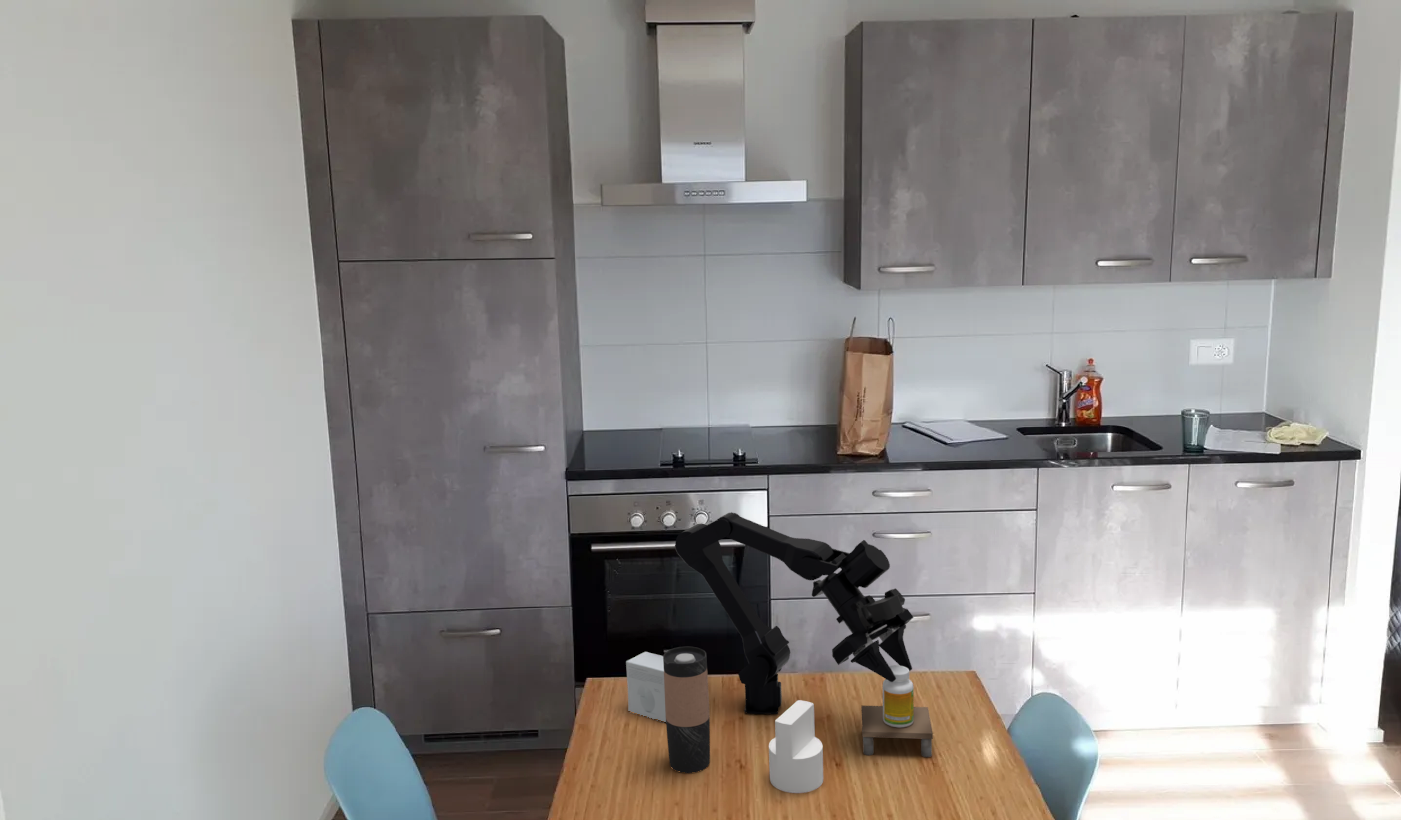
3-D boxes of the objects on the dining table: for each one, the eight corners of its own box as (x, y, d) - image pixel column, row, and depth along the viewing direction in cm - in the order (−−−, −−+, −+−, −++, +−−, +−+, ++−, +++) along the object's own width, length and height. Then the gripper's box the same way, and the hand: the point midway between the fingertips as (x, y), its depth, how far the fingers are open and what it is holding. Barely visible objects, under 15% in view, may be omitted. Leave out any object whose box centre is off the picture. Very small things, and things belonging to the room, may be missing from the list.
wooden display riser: (862, 755, 177) (862, 731, 176) (861, 728, 186) (861, 705, 186) (932, 757, 175) (932, 733, 174) (928, 730, 185) (928, 707, 184)
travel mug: (717, 754, 179) (712, 648, 176) (703, 776, 172) (698, 666, 168) (676, 749, 181) (671, 644, 178) (661, 770, 174) (655, 661, 171)
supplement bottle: (917, 727, 177) (917, 674, 175) (887, 729, 176) (887, 677, 175) (908, 713, 182) (908, 662, 180) (879, 715, 182) (878, 664, 180)
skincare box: (690, 711, 196) (687, 660, 194) (670, 725, 191) (667, 672, 189) (647, 699, 202) (645, 649, 200) (627, 712, 197) (624, 661, 195)
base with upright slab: (809, 798, 164) (807, 729, 162) (760, 784, 169) (758, 717, 167) (832, 772, 171) (830, 706, 169) (784, 760, 176) (783, 695, 174)
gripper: (844, 593, 172) (901, 671, 166) (904, 565, 185) (958, 636, 179) (808, 626, 178) (861, 702, 173) (868, 596, 192) (919, 666, 186)
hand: (902, 675), depth 178 cm, fingers open, 5 cm apart
